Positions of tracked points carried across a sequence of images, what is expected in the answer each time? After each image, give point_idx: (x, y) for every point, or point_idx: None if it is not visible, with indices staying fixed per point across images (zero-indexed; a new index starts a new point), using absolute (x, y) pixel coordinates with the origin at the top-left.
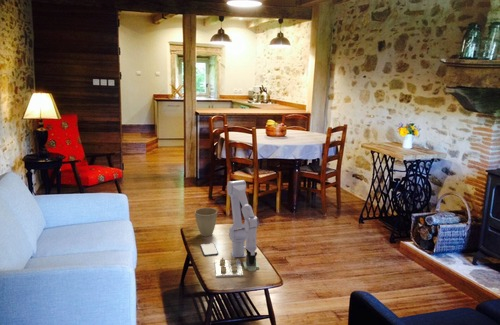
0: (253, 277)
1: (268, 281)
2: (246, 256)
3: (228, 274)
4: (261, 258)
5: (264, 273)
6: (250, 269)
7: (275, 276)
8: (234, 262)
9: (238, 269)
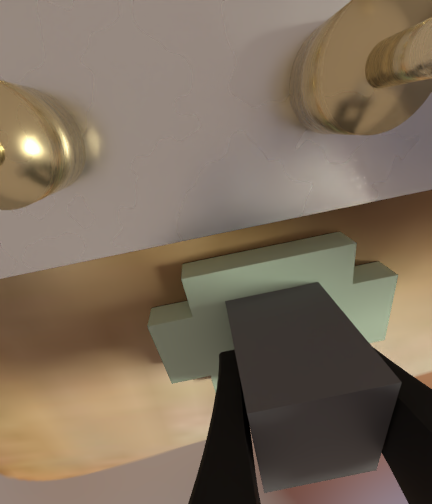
0: (19, 363)
1: (4, 450)
2: (341, 395)
3: None
4: (419, 368)
5: (135, 416)
6: (155, 337)
7: (106, 466)
8: (308, 105)
9: (106, 203)
